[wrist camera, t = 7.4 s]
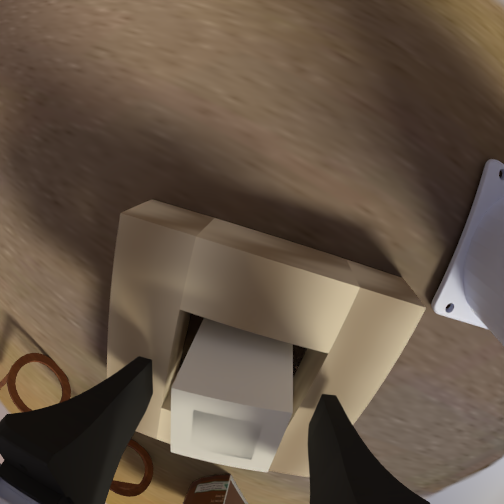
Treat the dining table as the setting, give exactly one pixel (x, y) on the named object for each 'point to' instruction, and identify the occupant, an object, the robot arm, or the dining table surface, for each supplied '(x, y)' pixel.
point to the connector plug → (232, 397)
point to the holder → (253, 312)
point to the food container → (215, 491)
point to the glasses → (10, 379)
